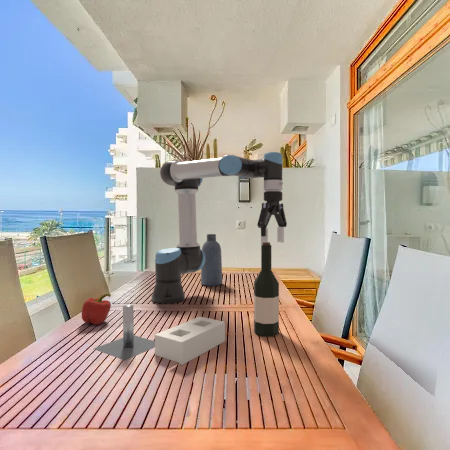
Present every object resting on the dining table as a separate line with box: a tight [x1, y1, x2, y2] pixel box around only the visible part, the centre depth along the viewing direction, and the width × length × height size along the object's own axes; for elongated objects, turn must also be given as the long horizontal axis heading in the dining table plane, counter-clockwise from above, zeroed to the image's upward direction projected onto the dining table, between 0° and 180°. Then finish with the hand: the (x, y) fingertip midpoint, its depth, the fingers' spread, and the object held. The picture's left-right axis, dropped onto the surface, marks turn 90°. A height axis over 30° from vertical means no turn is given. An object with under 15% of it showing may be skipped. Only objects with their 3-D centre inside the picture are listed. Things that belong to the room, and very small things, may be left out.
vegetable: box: [81, 293, 112, 326], centre depth 122 cm, size 11×10×10 cm
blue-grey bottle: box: [200, 233, 223, 287], centre depth 190 cm, size 12×12×28 cm
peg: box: [122, 303, 135, 348], centre depth 99 cm, size 3×3×12 cm
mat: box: [93, 334, 155, 361], centre depth 99 cm, size 14×14×1 cm
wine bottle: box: [253, 241, 280, 338], centre depth 111 cm, size 8×8×30 cm
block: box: [154, 316, 226, 366], centre depth 98 cm, size 20×10×6 cm, turn 146°
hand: (272, 243), depth 137 cm, fingers open, 13 cm apart
